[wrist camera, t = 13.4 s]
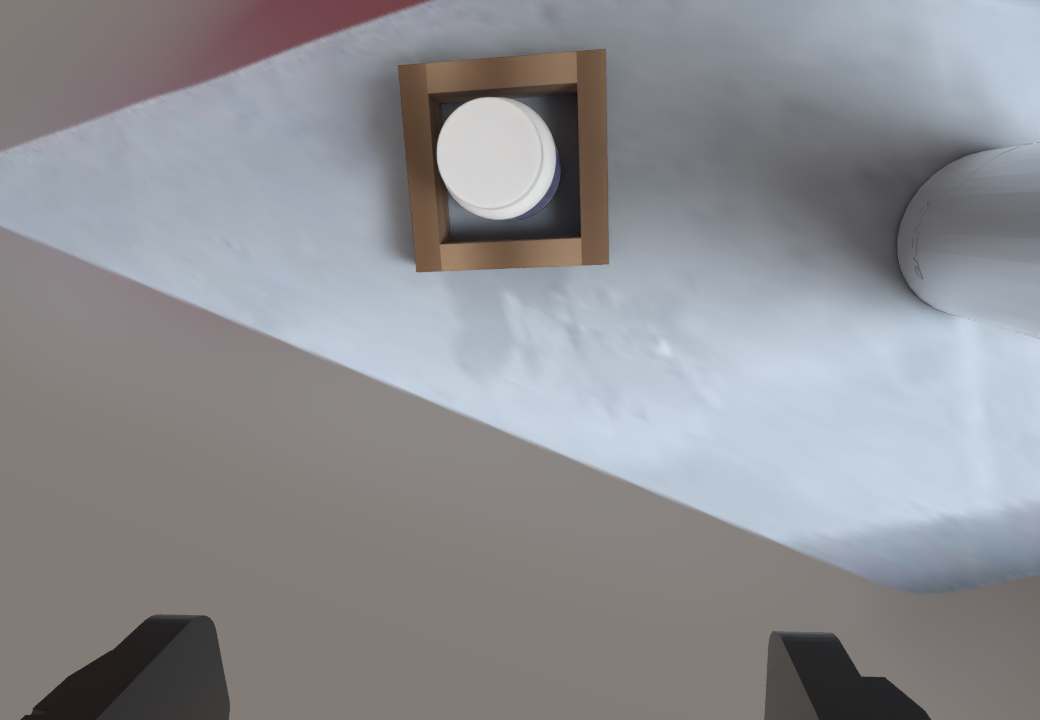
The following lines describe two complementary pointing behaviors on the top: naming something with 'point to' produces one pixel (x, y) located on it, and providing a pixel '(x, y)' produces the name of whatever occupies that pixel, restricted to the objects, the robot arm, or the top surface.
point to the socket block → (506, 80)
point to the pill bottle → (498, 159)
